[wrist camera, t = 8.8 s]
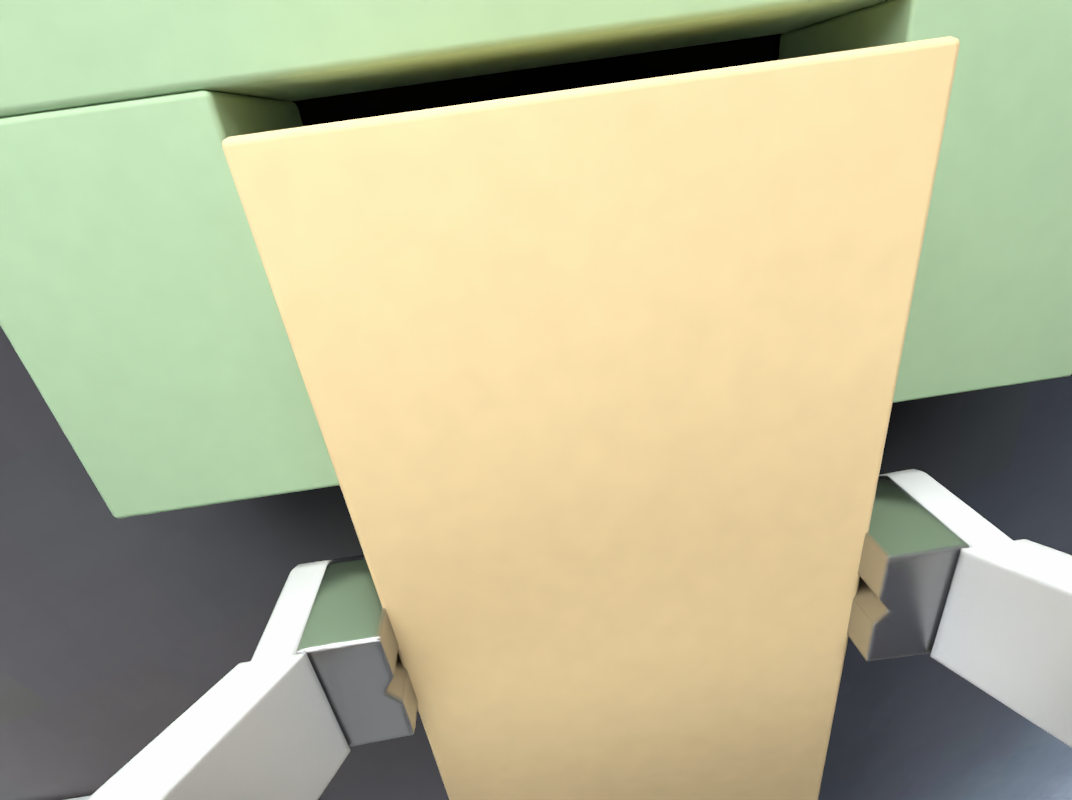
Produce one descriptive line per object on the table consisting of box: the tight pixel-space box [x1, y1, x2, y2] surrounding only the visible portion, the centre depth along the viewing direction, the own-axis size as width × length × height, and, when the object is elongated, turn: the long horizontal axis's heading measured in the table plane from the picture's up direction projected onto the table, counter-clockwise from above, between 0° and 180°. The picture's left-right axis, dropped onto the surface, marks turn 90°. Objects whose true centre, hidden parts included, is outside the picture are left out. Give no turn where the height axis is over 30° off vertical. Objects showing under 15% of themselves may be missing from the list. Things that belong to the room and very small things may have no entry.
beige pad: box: [222, 36, 960, 800], centre depth 8 cm, size 6×12×3 cm, turn 7°
